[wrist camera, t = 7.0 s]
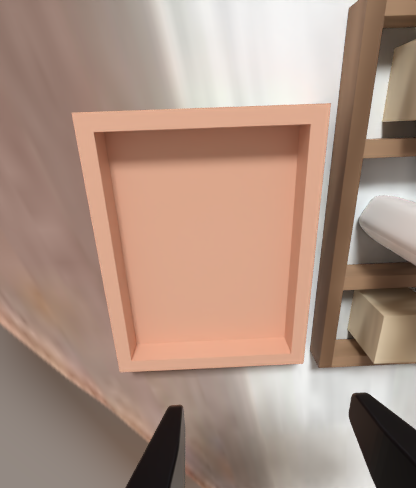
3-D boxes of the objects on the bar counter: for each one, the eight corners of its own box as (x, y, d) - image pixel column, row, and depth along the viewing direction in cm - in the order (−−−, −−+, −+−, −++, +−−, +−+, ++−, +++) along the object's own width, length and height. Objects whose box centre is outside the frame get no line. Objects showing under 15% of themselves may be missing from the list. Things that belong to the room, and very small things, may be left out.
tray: (313, 107, 18) (330, 103, 16) (293, 341, 25) (303, 363, 22) (88, 115, 18) (71, 112, 16) (127, 349, 24) (119, 372, 22)
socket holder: (524, 2, 16) (565, -15, 15) (425, 344, 25) (443, 361, 23) (348, 7, 16) (368, -8, 14) (309, 350, 25) (318, 367, 23)
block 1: (404, 284, 23) (444, 313, 19) (394, 326, 24) (429, 361, 21) (354, 286, 23) (384, 316, 19) (347, 328, 24) (373, 363, 21)
